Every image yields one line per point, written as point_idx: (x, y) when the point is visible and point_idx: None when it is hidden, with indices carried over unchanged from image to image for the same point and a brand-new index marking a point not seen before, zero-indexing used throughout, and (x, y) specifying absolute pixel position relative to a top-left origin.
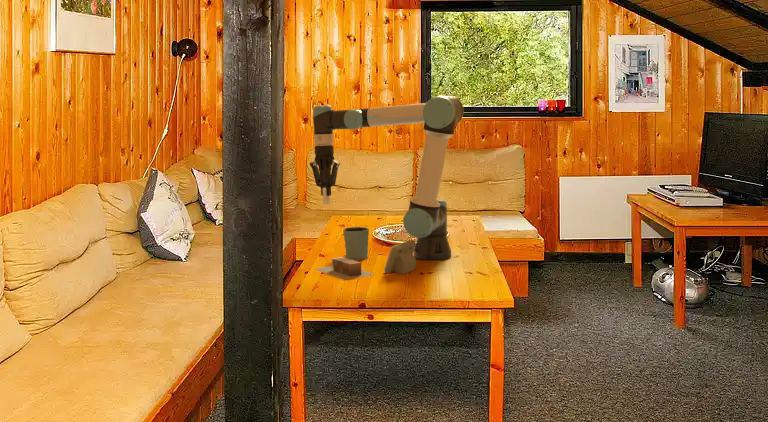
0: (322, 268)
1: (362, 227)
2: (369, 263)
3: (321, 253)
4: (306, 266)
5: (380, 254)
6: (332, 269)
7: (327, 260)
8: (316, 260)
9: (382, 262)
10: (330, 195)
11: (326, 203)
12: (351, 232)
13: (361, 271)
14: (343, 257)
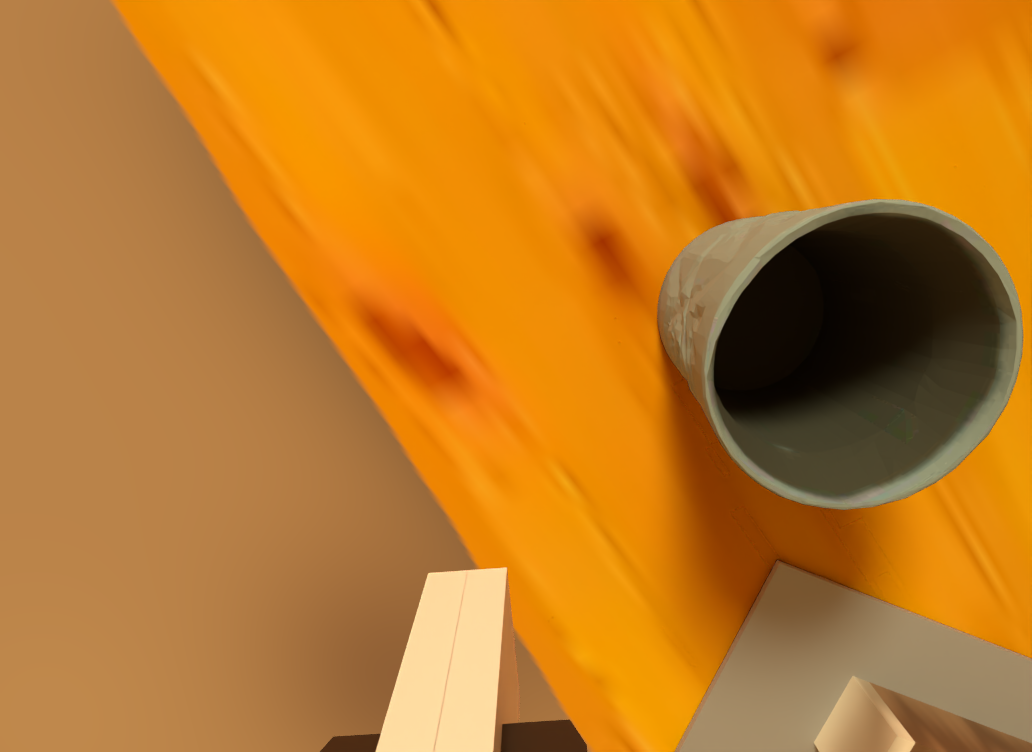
0: (723, 731)
1: (876, 212)
2: None
3: (357, 285)
4: (563, 703)
5: (846, 56)
6: (821, 749)
7: (574, 482)
8: (499, 521)
9: None
10: (573, 737)
11: (518, 701)
12: (877, 502)
13: (1016, 680)
14: (917, 747)
